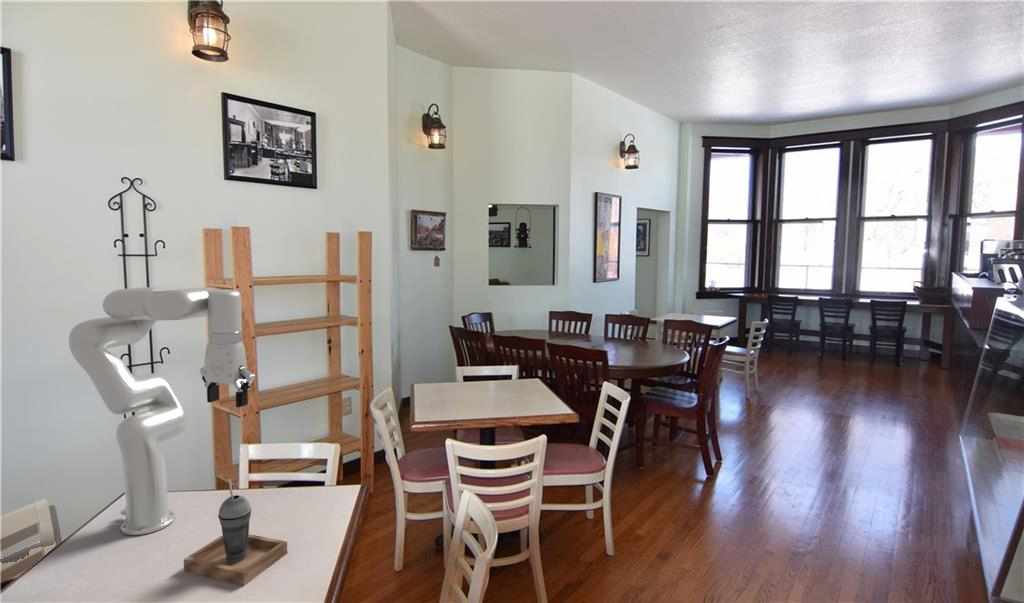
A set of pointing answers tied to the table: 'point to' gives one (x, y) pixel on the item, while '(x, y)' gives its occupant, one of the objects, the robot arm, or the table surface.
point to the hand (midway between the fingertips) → (227, 403)
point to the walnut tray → (216, 566)
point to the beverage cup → (235, 526)
